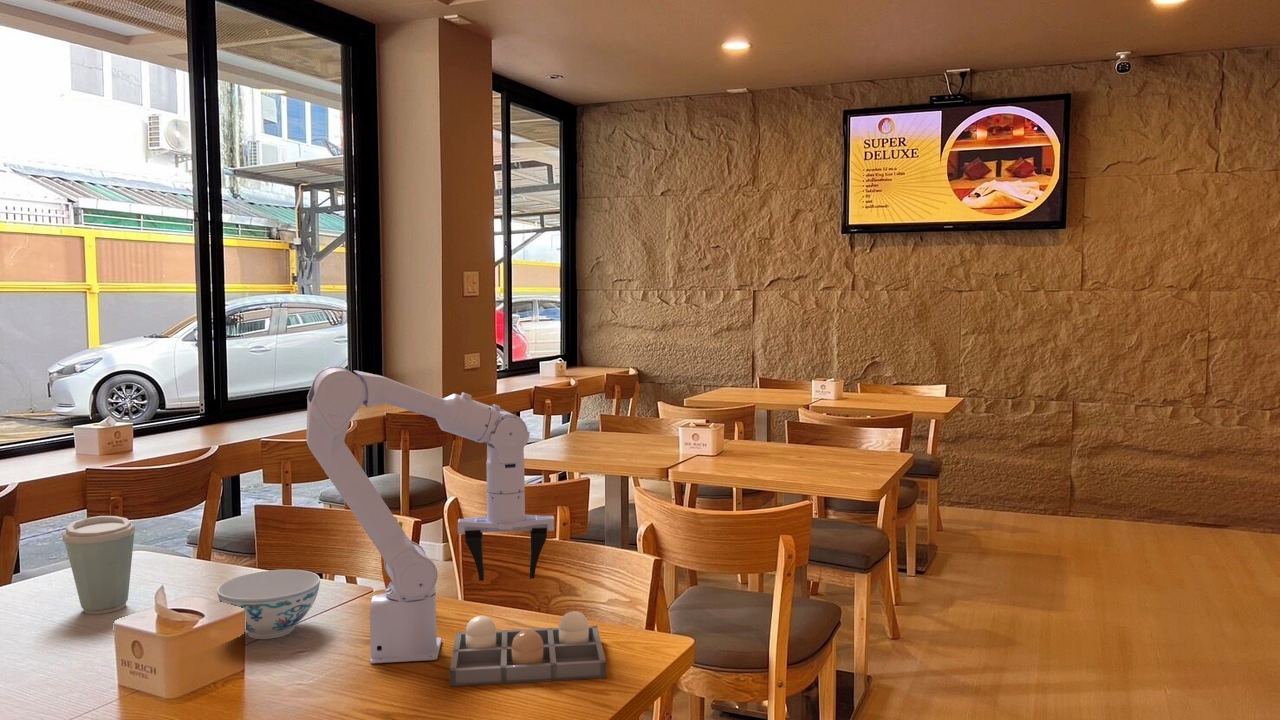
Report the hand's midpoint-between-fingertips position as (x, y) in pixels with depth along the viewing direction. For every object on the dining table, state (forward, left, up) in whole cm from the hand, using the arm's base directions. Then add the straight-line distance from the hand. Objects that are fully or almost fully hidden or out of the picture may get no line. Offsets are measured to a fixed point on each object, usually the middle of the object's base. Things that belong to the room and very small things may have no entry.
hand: (506, 577), depth 142 cm
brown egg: (+3, -13, -9) cm, 16 cm away
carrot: (-19, +18, -10) cm, 28 cm away
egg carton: (+3, -10, -9) cm, 14 cm away
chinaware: (-37, +8, -10) cm, 39 cm away
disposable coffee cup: (-68, +23, -10) cm, 72 cm away
